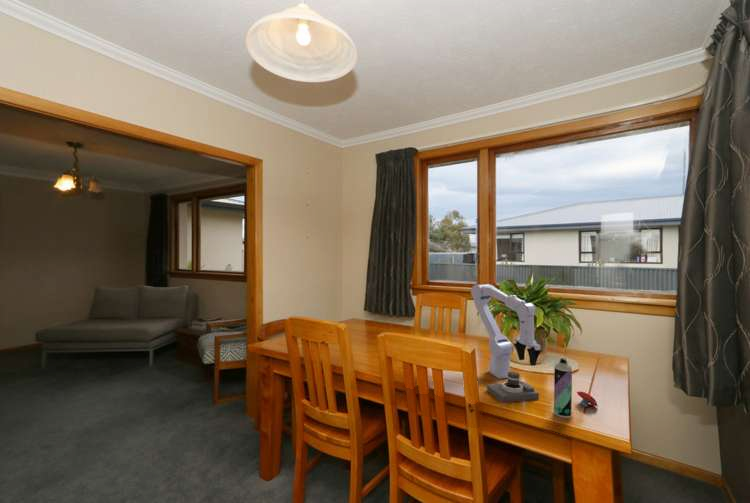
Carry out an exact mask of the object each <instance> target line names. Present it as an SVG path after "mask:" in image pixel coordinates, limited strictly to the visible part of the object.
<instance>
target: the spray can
mask: <svg viewBox="0 0 750 503" xmlns="http://www.w3.org/2000/svg"><path fill="white" fill-rule="evenodd" d="M567 361H568V360H567V359H566V358H564V357H561V358H560V360H559V361H558V362H555V363H554V371H553V372H554V375H553V376H554V382H553V384H554V389H553V406H554V407H553V413H554V415H555V416H557V417H559V418H562V419H571V418H572V416H573V415H572V409H573V408H572V407H573V406H572V404H573V403H572V402H573V397H572V396H573V392H572V391H573V368H572V365H570V364H569V362H567Z"/></svg>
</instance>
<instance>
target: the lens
mask: <svg viewBox="0 0 750 503" xmlns="http://www.w3.org/2000/svg"><path fill="white" fill-rule="evenodd" d="M519 380H521V379H520V373H519V372H515V371H510V372H508V378H507V381H508V385H507V387H511V388H519Z"/></svg>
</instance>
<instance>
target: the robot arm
mask: <svg viewBox="0 0 750 503" xmlns="http://www.w3.org/2000/svg"><path fill="white" fill-rule="evenodd" d="M470 294H471V296H472V299H473V304H474V306H475V308H476V310H477V313H478V314H479V317H480V319H481V321H482V323H483V325H484V327H485V329H486V332H487V334H488V336H489V338H490V339H489V341H488V345H489V350H490V353H491V354H490V357H489V369H488V370H487V372H489V374H491V375H492V376H494V377H496V378H497V379H508V372H511V371H510V370H511V356H512V354H513V353H514V349H515V350H516V353H517V357H518V359H519V360H518V361H524V360H525V357H526V354H525V353H526V351H527V354H528V357H529V365H530V366H536V365H537V361H538V358H539V356H540V355H541V352H542V348H541V345H540V344H538V343H537V340H535V321H534V319H535V318H534V317H535V316H536V314H537V307H536V305H535V304H533V303H532V302H526V300H524V299H523V300H522V299H520V298H518V297H517V295H515V294H514V295H513V294H510V295H507V294H506V293H505V292H502V291H501V290H499V289H498V288H497V287H495V286H494V285H492V284H490V283H486V284H473V285H472V288H471V291H470ZM492 297H494V298H495V299H497V300H499V301H502V302H503V303H504V305H505V306H506V307H507V308H509V309H510V310H512V311H514V312H515V313H516V315H517V316H518V321H519V336H518V337H514V342H515V343H512V342H511V341H510V340H509V339H508V337H507V336H506V335H504V334H502V332H501V329H500V328H499V326H498V324H497V322H496V320H495V318H494V316H493V313H492V311H491V310H490V308H489V306H488V302H489V301H490V300H491V298H492ZM527 347H528V348H527Z"/></svg>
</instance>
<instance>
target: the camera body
mask: <svg viewBox="0 0 750 503" xmlns="http://www.w3.org/2000/svg"><path fill="white" fill-rule="evenodd" d="M507 385H508V380H507V381H503V382H502V383H493V384H492V383H491V384H487V385H486V390H487V393H489V394H490V395H492V396H493V397H494V398H496V399H497V400H498V401H500V402H501V403H510V402H521V401H522V402H523V401H530V400H531V401H533V400H539V398H540V397H539V395H540V392H538V391H537V390H535V387H533V385H531V384H528V383H527V382H525V381H524V380H523V379H519V388H511V387H507Z"/></svg>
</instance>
